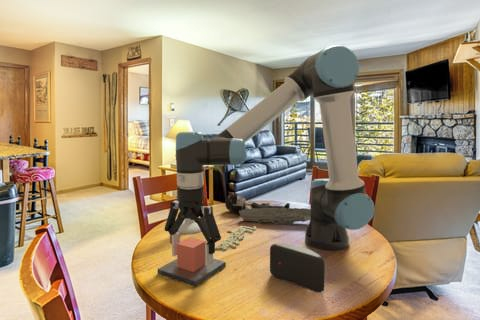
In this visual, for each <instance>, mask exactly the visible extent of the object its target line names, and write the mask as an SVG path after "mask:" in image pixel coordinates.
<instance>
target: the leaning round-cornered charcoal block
mask: <svg viewBox="0 0 480 320" xmlns="http://www.w3.org/2000/svg"><path fill="white" fill-rule="evenodd" d="M325 271H326V262H325V259H324V257H323V256H322V255H320V254H319V253H318V252H316V251H313V250H312V249H309V248H306V247H303V246H299V245H294V244H288V243H273V244H271V246H270V247H269V273H270V274H271V275H272V276H273V277H274V278H277V279H279V280H283V281H284V282H288V283H291V284H294V285H296V286H299V287H302V288H305V289H307V290H310V291H313V292H316V293H323V292H324V291H325V278H326V277H325Z"/></svg>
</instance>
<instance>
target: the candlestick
mask: <svg viewBox="0 0 480 320" xmlns="http://www.w3.org/2000/svg"><path fill="white" fill-rule="evenodd" d="M178 233H180V235H194V234H198V233H202V231H201V230H200V228H199V226H198V224H197V223H195V221H194V220H191V219H189V218H188V219H186V218H185V220H184V221H183V223H182V225H181V226H180V228H179V229H178Z"/></svg>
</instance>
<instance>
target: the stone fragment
mask: <svg viewBox="0 0 480 320" xmlns="http://www.w3.org/2000/svg"><path fill="white" fill-rule="evenodd" d="M238 213H239V216H240V219H242V220H243V221H244V222H245V221H246V222H257V223H258V224H262V223H273V224H275V225H280V224H282V225H284V224H285V225H292V224H294V223H296V222H302V223H303V222H308V221H310V218H311V208H307V207H306V208H302V207H301V208H297V207H292V208H291V207H289V208H288V209H286V208H285V207H284V208H259V209H258V208H251V209H243V210H239V212H238Z"/></svg>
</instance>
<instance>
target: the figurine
mask: <svg viewBox="0 0 480 320" xmlns="http://www.w3.org/2000/svg"><path fill="white" fill-rule="evenodd" d="M224 204H225V208H226V209H227V210H228V211H229V212H232V213H237V214H238V213H239V210H243V209H251V208H258V209H259V208H284V207H285V208H286V209H288V208H291V207H290V202H289V203H287V202H286V204H285V205H283V206H282V205H271V203H269V202H265V203H263V202H262V203H258V202H254V201H252V200H251V201H247V202H246V197H242V196H241V195H240V196H239V195H238V194H236V193H235V194H234V193H233V194H229V195H228V196H226V198H225V200H224Z"/></svg>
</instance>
